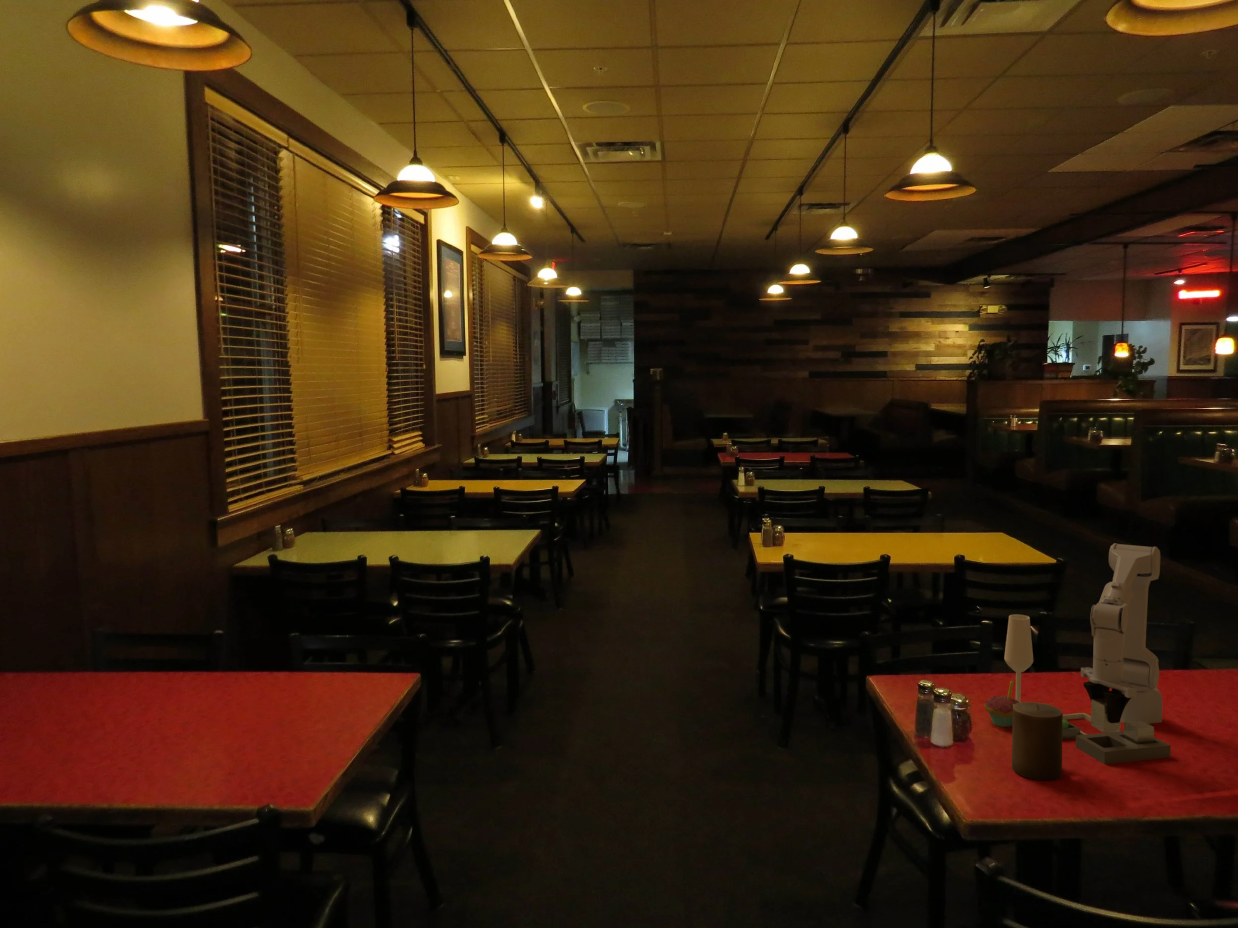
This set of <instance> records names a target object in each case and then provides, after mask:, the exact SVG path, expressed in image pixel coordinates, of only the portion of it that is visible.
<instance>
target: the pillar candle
mask: <svg viewBox="0 0 1238 928" xmlns="http://www.w3.org/2000/svg"><path fill="white" fill-rule="evenodd" d="M1063 715H1064V714H1063V711H1062V710H1061V709H1060V708H1059V707H1056V706H1054V705H1051V704H1049V703H1042V702H1034V701H1023V702H1022V701H1021V703H1017V704H1013V726H1012V734H1011V735H1012V736H1011V768H1012V770H1013V771H1014V772H1015V773H1016V774H1018V775H1021V776H1022V777H1023V778H1027V779H1031V780H1035V781H1040V782H1041V781H1042V782H1043V781H1044V782H1045V781H1047V782H1049V781H1050V782H1051V781H1053V782H1054V781H1057V780H1059V779H1060V778H1061V777H1062V776H1063V774H1062V773H1063V772H1062V770H1063V739H1062V721H1063Z"/></svg>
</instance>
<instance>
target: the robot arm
mask: <svg viewBox="0 0 1238 928" xmlns="http://www.w3.org/2000/svg"><path fill="white" fill-rule="evenodd" d="M1108 565H1109V567H1110V568H1111V570H1112V571H1113V577H1112V581H1109V582H1108V583H1106V584H1105V586H1104V588H1103V591H1102V593H1101V596H1100V599H1099V601H1098V602H1097V603H1096V604H1093V605H1092V606H1091V610H1090V616H1089V617H1090V618H1089V620H1090V627H1091V636H1092V637H1093V647H1092V648H1093V650H1092V651H1093V655H1092V660H1093V661H1092V667H1080V676H1081V678H1088V681H1083V684H1082V685H1083V687H1084V688H1085V690H1086V692H1087V695H1088V697H1089V700H1090V701H1091V699H1100V698H1105V699H1106V702H1107V707H1108V719H1109V722H1110V723H1119V722H1120V719H1121V723H1123V724H1124V722H1127V721H1137V720H1141V721H1143V722H1145V723H1147V724H1149V725H1151V724H1159V723H1162V722H1163V696H1162V693H1161V692H1160V690H1159V689H1158V688H1157V687H1158V684H1159V680H1160V668H1159V659H1158V656H1156V654H1154V653H1153V652H1152V651H1151V650H1150V649H1148V648H1147V647H1146V643H1147V640H1146V639H1147V622H1148V621H1147V620H1148V618H1147V617H1148V602H1149V601H1148V599H1149V587H1150V585H1151V582H1152V581H1155V580H1159V577H1160V573H1161V572H1160V571H1161V550H1160V549H1159V548H1158V547H1157V546H1144V545H1143V546H1142V545H1133V544H1132V545H1131V544H1120V543H1113V544H1112V545H1110V548H1109V552H1108ZM1110 689H1111V690H1110Z"/></svg>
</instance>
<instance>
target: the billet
mask: <svg viewBox="0 0 1238 928" xmlns="http://www.w3.org/2000/svg"><path fill="white" fill-rule="evenodd" d="M1090 703H1091V705H1090V706H1091V709H1090V710H1091V711H1090V712H1091V713H1090V714H1091V715H1090V716H1091V722H1090V726H1091V727H1093V728H1095V729H1097V730H1098V731H1100V732H1101V733H1108V732H1114V731H1121V724H1122V722H1121V719H1120V722H1119V723H1110V722H1109V719H1108V707H1107V702H1106V699H1105V698H1100V699H1091V700H1090Z"/></svg>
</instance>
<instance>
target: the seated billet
mask: <svg viewBox="0 0 1238 928" xmlns="http://www.w3.org/2000/svg"><path fill="white" fill-rule="evenodd" d="M1123 731H1124V738H1125V739H1127V740H1129V741H1131V742H1133V743H1134V744H1136V745H1140V744H1150V743H1153V742H1154V737H1155V736H1154V735H1155V726H1152V725H1151V724H1147V723H1145V722H1143V721H1141V720H1137V721H1127V722H1124V723H1123Z"/></svg>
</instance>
